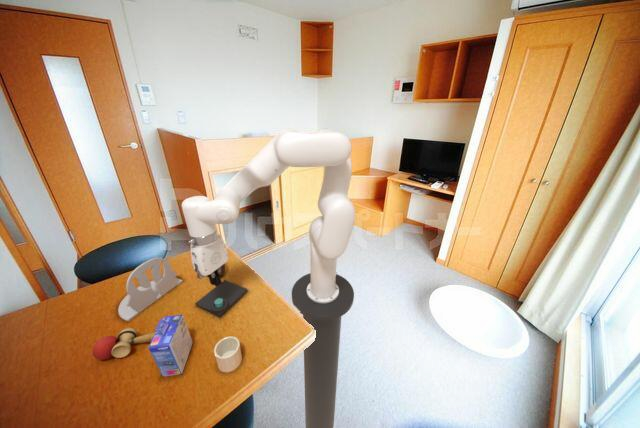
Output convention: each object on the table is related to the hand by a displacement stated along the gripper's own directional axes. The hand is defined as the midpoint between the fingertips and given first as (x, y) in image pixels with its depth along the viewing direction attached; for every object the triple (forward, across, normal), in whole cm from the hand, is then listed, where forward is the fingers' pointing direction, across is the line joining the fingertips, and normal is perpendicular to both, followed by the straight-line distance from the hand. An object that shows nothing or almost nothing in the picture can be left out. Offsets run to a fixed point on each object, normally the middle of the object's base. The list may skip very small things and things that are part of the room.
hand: (216, 283), depth 80 cm
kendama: (+12, -22, +13) cm, 28 cm away
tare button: (+10, 0, +1) cm, 10 cm away
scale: (+12, +4, +4) cm, 14 cm away
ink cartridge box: (+12, -19, -2) cm, 23 cm away
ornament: (+12, -7, +32) cm, 35 cm away
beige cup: (+12, -13, -16) cm, 24 cm away
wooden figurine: (+12, +13, +16) cm, 24 cm away
